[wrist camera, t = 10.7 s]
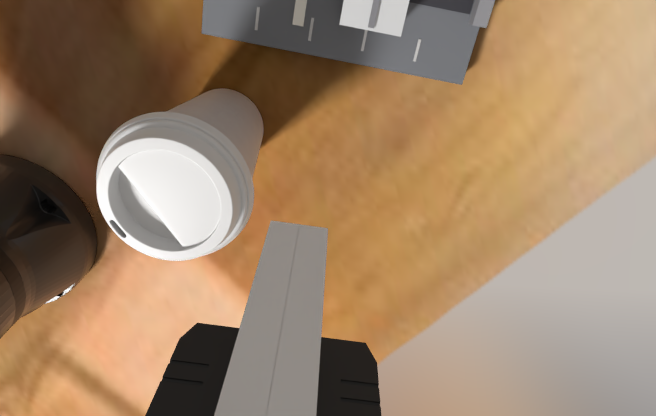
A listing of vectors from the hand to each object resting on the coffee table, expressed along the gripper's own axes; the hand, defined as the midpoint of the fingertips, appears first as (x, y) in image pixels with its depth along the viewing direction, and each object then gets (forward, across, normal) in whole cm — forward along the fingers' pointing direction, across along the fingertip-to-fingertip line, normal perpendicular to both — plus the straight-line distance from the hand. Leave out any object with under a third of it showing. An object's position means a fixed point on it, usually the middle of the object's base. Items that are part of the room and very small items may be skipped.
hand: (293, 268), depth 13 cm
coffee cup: (+29, -8, -6) cm, 30 cm away
